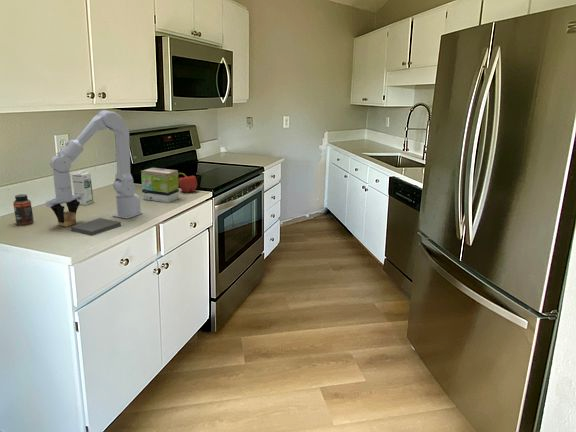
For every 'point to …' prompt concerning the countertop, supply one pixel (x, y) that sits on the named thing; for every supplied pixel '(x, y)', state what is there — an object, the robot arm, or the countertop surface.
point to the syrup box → (83, 187)
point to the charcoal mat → (95, 226)
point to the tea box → (160, 184)
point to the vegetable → (187, 183)
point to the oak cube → (68, 219)
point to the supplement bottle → (23, 210)
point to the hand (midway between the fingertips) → (67, 220)
